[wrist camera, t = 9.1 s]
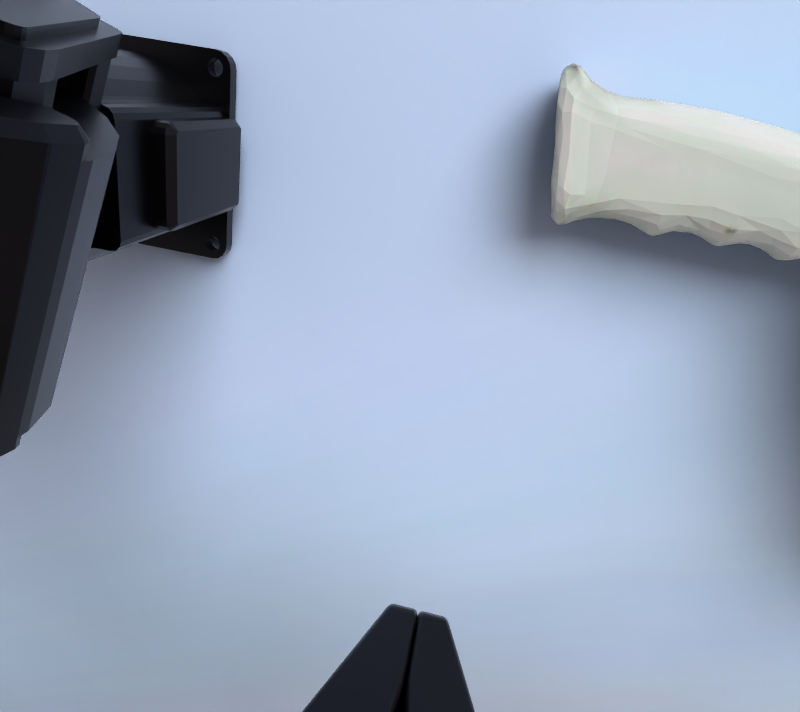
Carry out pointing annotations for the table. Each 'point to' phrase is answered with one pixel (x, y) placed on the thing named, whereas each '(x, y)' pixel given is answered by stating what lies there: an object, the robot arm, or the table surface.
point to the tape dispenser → (674, 169)
